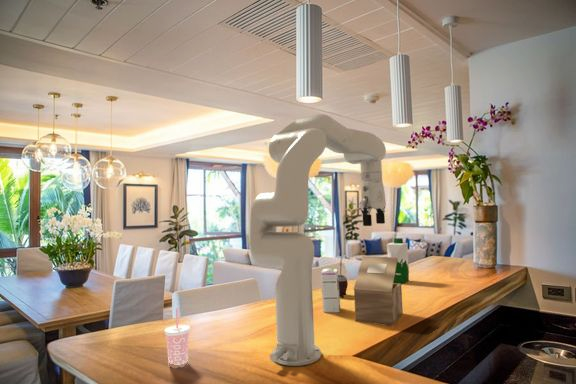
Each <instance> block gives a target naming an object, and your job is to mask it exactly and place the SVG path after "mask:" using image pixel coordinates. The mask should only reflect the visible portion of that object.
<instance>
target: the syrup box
mask: <svg viewBox="0 0 576 384" xmlns="http://www.w3.org/2000/svg"><path fill="white" fill-rule="evenodd" d="M338 275H339V269H338V268H323V269H322V270H321V272H320V276H321V294H322V295H321V297H322V310H323V311H322V312H324V313H339V312H340V311H341V300H340V299H341V297H340V294H339V279H338Z"/></svg>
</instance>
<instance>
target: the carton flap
mask: <svg viewBox="0 0 576 384" xmlns="http://www.w3.org/2000/svg"><path fill="white" fill-rule="evenodd" d="M360 260H361V261H360V265H359V269H358V272H357V277H356V280H355V284H354V287H353V291H354V290H356V291H369V292H382V293H392V287H393V282H394V277H395V271H396V266H397V260H398V258H395V257H388V256H387V257H386V256H362V258H361V259H360Z"/></svg>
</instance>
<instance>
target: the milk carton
mask: <svg viewBox="0 0 576 384" xmlns="http://www.w3.org/2000/svg"><path fill="white" fill-rule="evenodd" d="M403 239H404V238H402V237H398V238H397V237H395V238H393V242H389V243H386V252H387V257H395V258H398V260H397V266H396V271H395V277H394V282H393V283H397V284H401V285H402V284H403V285H404V284H406V283H408V282H409V279H410V269H409V267H410V265H409V250H408V249H409V247H408V245H409V244H408V242H404V241H403Z"/></svg>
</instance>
